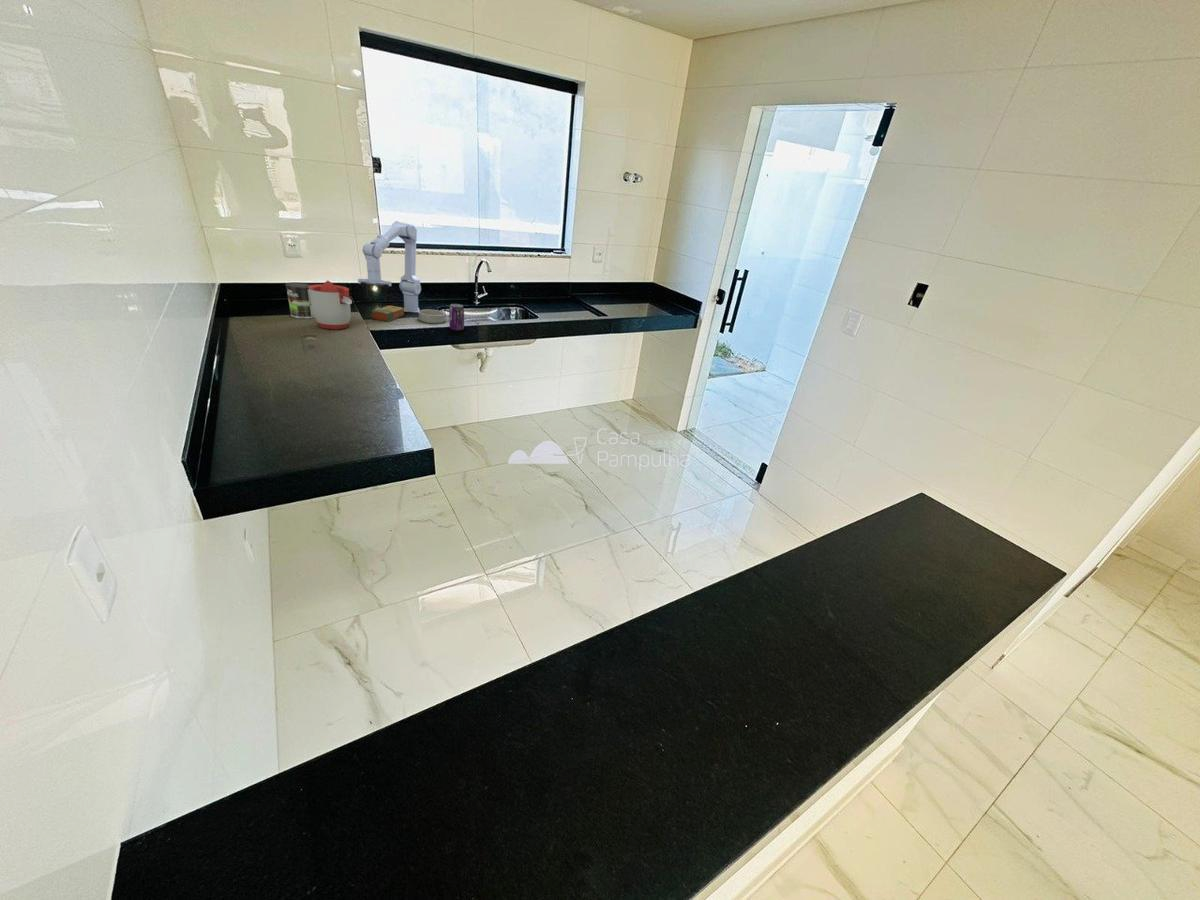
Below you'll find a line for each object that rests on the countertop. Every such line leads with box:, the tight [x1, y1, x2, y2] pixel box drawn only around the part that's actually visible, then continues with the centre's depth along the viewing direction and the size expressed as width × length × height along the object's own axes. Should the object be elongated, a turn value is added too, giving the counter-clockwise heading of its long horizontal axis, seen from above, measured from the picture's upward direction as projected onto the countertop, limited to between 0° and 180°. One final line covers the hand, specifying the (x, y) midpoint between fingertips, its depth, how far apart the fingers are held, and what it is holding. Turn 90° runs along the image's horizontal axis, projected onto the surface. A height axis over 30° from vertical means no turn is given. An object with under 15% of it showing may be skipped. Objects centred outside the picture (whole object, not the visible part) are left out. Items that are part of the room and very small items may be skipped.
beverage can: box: [448, 303, 465, 332], centre depth 231 cm, size 7×7×12 cm
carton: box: [371, 305, 405, 322], centre depth 235 cm, size 8×16×4 cm, turn 171°
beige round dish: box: [417, 309, 446, 324], centre depth 241 cm, size 13×13×4 cm
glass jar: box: [285, 282, 315, 319], centre depth 214 cm, size 10×10×14 cm
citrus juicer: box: [308, 280, 353, 331], centre depth 205 cm, size 16×17×20 cm
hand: (376, 299), depth 227 cm, fingers open, 7 cm apart
